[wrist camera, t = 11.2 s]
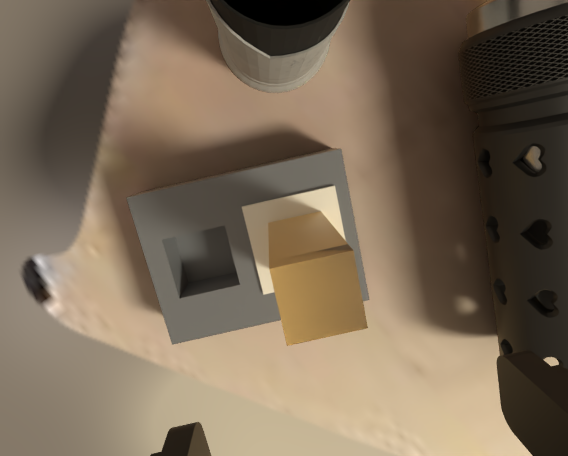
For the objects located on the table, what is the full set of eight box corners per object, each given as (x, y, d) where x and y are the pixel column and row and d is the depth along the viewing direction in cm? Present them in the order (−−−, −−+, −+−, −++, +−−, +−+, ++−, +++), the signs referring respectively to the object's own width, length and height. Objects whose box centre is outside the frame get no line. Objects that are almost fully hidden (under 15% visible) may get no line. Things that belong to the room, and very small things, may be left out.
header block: (143, 191, 32) (124, 198, 28) (332, 148, 32) (341, 148, 28) (182, 322, 35) (171, 346, 30) (357, 282, 35) (370, 301, 30)
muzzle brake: (471, 348, 37) (548, 425, 27) (426, 35, 31) (504, -19, 21) (569, 325, 37) (685, 393, 26) (544, 6, 31) (680, -62, 21)
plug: (268, 222, 29) (269, 268, 18) (320, 211, 29) (353, 250, 18) (279, 272, 30) (287, 345, 19) (330, 261, 30) (367, 327, 19)
